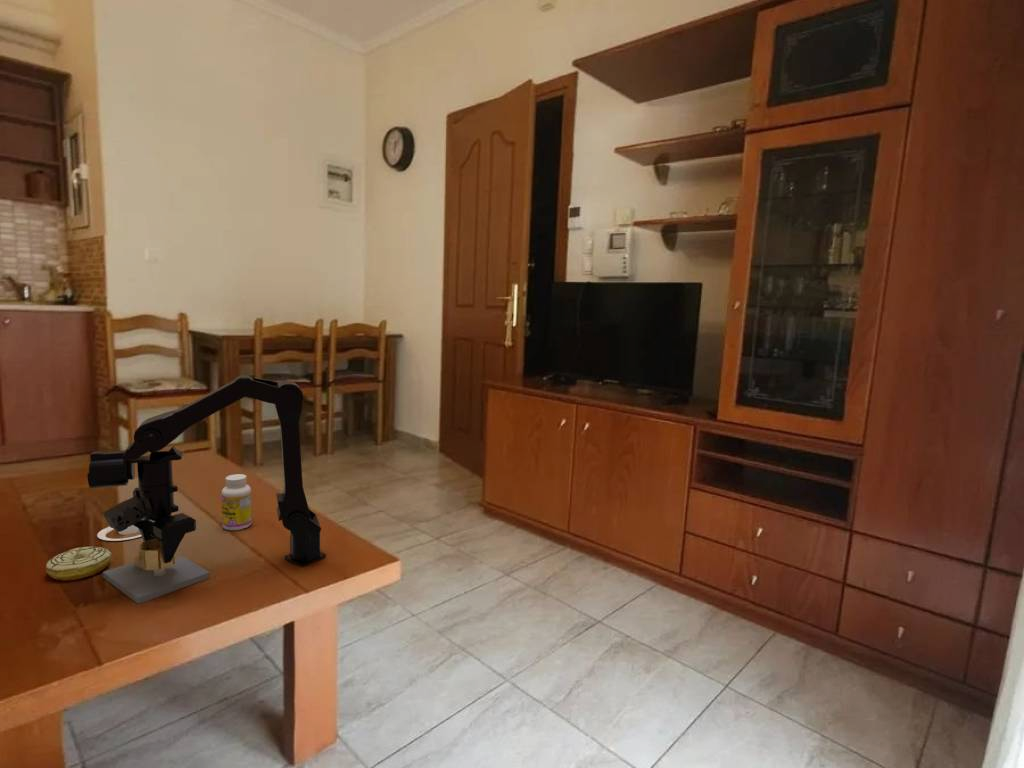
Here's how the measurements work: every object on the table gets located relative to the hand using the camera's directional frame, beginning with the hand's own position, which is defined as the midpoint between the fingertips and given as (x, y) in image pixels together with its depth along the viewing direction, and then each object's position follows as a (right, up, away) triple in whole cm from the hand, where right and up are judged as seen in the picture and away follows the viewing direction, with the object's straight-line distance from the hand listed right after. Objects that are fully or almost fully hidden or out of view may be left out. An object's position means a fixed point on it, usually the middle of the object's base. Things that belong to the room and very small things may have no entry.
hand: (159, 557), depth 111 cm
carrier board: (-2, -5, +1) cm, 5 cm away
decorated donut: (-18, -4, +3) cm, 19 cm away
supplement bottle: (+1, -1, +28) cm, 28 cm away
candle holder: (-22, -1, +23) cm, 32 cm away
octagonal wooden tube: (0, -1, 0) cm, 1 cm away
